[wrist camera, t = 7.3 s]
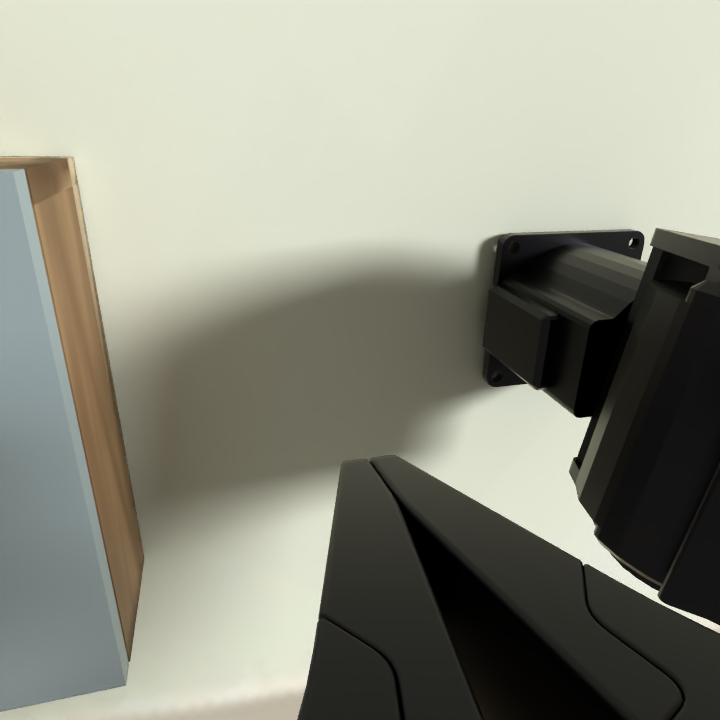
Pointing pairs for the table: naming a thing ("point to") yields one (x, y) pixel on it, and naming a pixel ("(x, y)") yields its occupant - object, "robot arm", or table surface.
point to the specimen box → (87, 369)
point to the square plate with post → (45, 494)
